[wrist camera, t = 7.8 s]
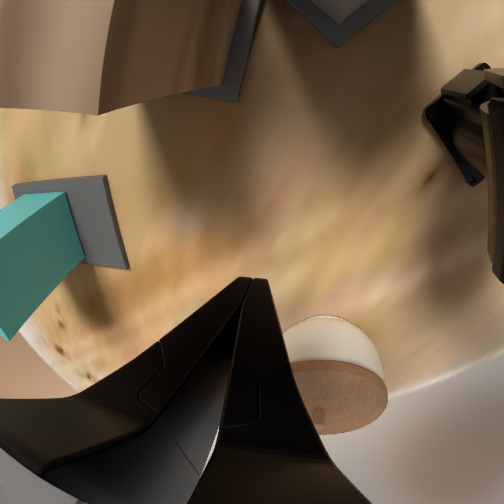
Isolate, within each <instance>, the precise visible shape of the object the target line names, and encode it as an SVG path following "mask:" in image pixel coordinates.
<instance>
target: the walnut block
mask: <svg viewBox="0 0 504 504" xmlns="http://www.w3.org/2000/svg"><path fill="white" fill-rule="evenodd" d="M241 2H242V0H0V108H18V109H37V110H51V111H62V112H73V113H82V114H91V115H101V114H104V113H107V112H110V111H113V110H116V109H120V108H123V107H127V106H130V105H134V104H137V103H141V102H145V101H149V100H152V99H157V98H161V97H165V96H169V95H174V94H178V93H183V92H188V91H193V90H198V89H203V88H208V87H214V86H220V85H222V82H223V77H224V73H225V68H226V64H227V59H228V55H229V50H230V46H231V42H232V38H233V34H234V30H235V26H236V22H237V18H238V14H239V10H240V6H241Z"/></svg>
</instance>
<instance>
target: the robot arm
mask: <svg viewBox="0 0 504 504" xmlns="http://www.w3.org/2000/svg"><path fill="white" fill-rule="evenodd" d="M483 67H484V68H485V69H483ZM483 70H484V71H483ZM430 110H432V111H433V116H432V117H429V115H428V113H429V111H430ZM423 115H424V117H425V119H426V120H427V122H428V123H429V124H430V126H431V127H432V129H433V130H434V131H435V133H436V134H437V136H438V137H439V139H440V140H441V142H442V143H443V145H444V146H445V148H446V149H447V151H448V153H449V154H450V156H451V157H452V159H453V161H454V162H455V164H456V166H457V167H458V169H459V171H460V172H461V174H462V176H463V177H464V179H465V181H466V182H467V184H469V185H470V186H476V185H477V184H478V183H479V182H481V181H482V180H483V179H484V178H487V179H488V202H489V218H488V246H487V249H488V253H489V256H490V260H491V262H492V271H493V273H494V274H495V275H496V276H497V278H498V279H499V280H500V281H501V282H502V283H503V284H504V68H500V69H491V68H490V66H489V65H488V64H486V63H479V64H478V65H476V66H475V67H474V68H473V69H472V70H469V69H464V70H463V71H462V72H460V73H459V74H458V75H457V76H456V77H454V78H453V79H452V80H451V81H449V82H448V83H447V84H446V85H444V86H443V87H442V88H441V95H440V96H438V97H437V98H436V99H435V100H433V101H432V102H431V103H430V104H429V105H427V106H426V107H425V108H424V110H423ZM473 176H474V179H473V180H472V181H470V178H471V177H473ZM219 425H220V426H219ZM218 427H219V432H218V437H217V441H216V445H215V448H214V451H213V453H212V456H211V458H210V460H209V462H208V464H207V466H206V468H205V470H204V471H203V468H204V466H205V463H206V460H207V458H208V455H209V452H210V449H211V447H212V444H213V441H214V439H215V436H216V433H217V430H218ZM202 471H203V473H202ZM201 474H202V475H201ZM200 476H201V477H200ZM0 504H372V503H371V502H370V501H369V500H368V499H367V498H366V497H365V496H364V495H363V494H362V493H361V492H360V491H359V490H358V489H357V488H356V487H355V486H354V485H353V483H351V482H350V480H349V479H348V478H347V477H346V476H345V475H344V474H343V473H342V472H341V471H340V470H339V468H338V467H337V466H336V465H335V464H334V462H333V461H332V459H331V458H330V456H329V455H328V453H327V451H326V449H325V447H324V445H323V443H322V441H321V439H320V437H319V435H318V432H317V430H316V428H315V426H314V424H313V422H312V419H311V417H310V415H309V413H308V411H307V409H306V407H305V404H304V402H303V399H302V397H301V394H300V392H299V389H298V387H297V383H296V380H295V377H294V374H293V370H292V367H291V363H290V362H289V356H288V352H287V349H286V345H285V341H284V338H283V334H282V330H281V326H280V323H279V319H278V315H277V312H276V308H275V304H274V301H273V297H272V293H271V290H270V286H269V282H268V280H267V279H262V278H254V279H252V278H250V277H238V278H236V279H235V280H234V281H233V282H231V283H230V284H229V285H228V286H226V287H225V288H224V289H223V290H221V291H220V292H219V293H218V294H216V295H215V296H214V297H213V298H211V299H210V300H209V301H208V302H206V303H205V304H204V305H203V306H201V307H200V308H199V309H198V310H196V311H195V312H194V313H193V314H191V315H190V316H189V317H188V318H186V319H185V320H184V321H182V322H181V323H180V324H179V325H177V326H176V327H175V328H174V329H172V330H171V331H170V332H169V333H167V334H166V335H165V336H163V337H162V338H161V339H160V340H159V341H157V342H156V343H154V344H153V345H152V346H151V347H149V348H148V349H147V350H145V351H144V352H143V353H141V354H140V355H139V356H137V357H136V358H135V359H133V360H132V361H130V362H129V363H127V364H125V365H124V366H122V367H121V368H119V369H118V370H116V371H115V372H113V373H111V374H110V375H108V376H107V377H105V378H103V379H102V380H100V381H98V382H97V383H95V384H93V385H92V386H90V387H89V388H87V389H85V390H83V391H82V392H80V393H77V394H75V395H72V396H69V397H64V398H52V399H51V398H50V399H0Z"/></svg>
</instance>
